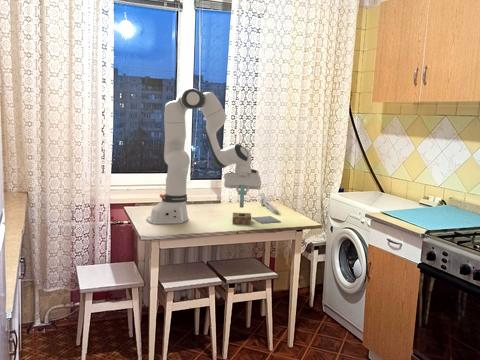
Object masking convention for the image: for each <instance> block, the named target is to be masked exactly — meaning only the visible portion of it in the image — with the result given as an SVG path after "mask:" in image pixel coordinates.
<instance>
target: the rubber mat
mask: <svg viewBox="0 0 480 360" xmlns="http://www.w3.org/2000/svg"><path fill="white" fill-rule="evenodd" d="M251 220H254V221H255V222H257V223H259V224H261V225H263V224H274V223H276V224H277V223H281V220H279V219H277V218H275V217H273V216H272V215H267V216H266V215H265V216H255V217H253V216H251Z"/></svg>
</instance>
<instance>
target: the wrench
mask: <svg viewBox="0 0 480 360" xmlns="http://www.w3.org/2000/svg"><path fill="white" fill-rule="evenodd" d="M258 196H259V197H260V200H259V203H260V205H261V207H264V206H266V208H267V209H269V210H270V212H271V213H273V214H274V215H279V214H280V212H279V210H278V208H276V207H275V206H274V205H273V204H272V203H271V202H269V201H268V200H267V198H266V196H265V193H264V192H259V193H258Z"/></svg>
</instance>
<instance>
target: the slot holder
mask: <svg viewBox="0 0 480 360" xmlns="http://www.w3.org/2000/svg"><path fill="white" fill-rule="evenodd" d="M232 225H244V226H245V225H252V213H251V212H232Z"/></svg>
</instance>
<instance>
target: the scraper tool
mask: <svg viewBox="0 0 480 360" xmlns="http://www.w3.org/2000/svg"><path fill="white" fill-rule="evenodd" d="M240 190H241V194H240V195H239V197H240V198H239V208H244V205H245V195H244V191H246V189H245V185H241V189H240Z"/></svg>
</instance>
